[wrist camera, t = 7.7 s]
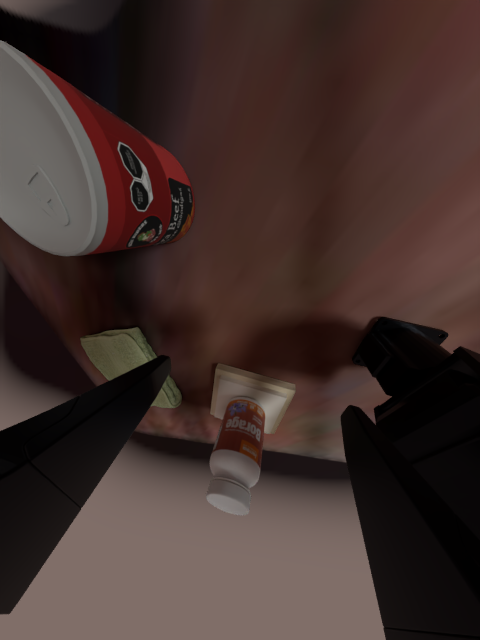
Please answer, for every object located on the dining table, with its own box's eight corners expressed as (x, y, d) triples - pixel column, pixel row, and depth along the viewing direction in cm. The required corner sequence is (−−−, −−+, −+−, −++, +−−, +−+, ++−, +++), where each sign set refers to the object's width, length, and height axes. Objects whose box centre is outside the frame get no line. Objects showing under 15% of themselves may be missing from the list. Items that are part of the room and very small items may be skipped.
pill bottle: (270, 402, 25) (263, 507, 16) (261, 424, 28) (250, 523, 19) (230, 390, 26) (200, 484, 16) (225, 413, 29) (198, 504, 20)
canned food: (169, 257, 20) (69, 283, 11) (114, 194, 18) (-70, 158, 9) (213, 205, 17) (124, 178, 7) (151, 121, 15) (-86, -73, 5)
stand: (295, 384, 25) (296, 396, 24) (274, 427, 31) (273, 438, 30) (218, 362, 27) (213, 372, 25) (212, 408, 33) (208, 418, 31)
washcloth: (141, 320, 26) (125, 330, 24) (188, 397, 33) (180, 413, 31) (86, 332, 30) (67, 342, 28) (139, 399, 38) (127, 412, 35)
